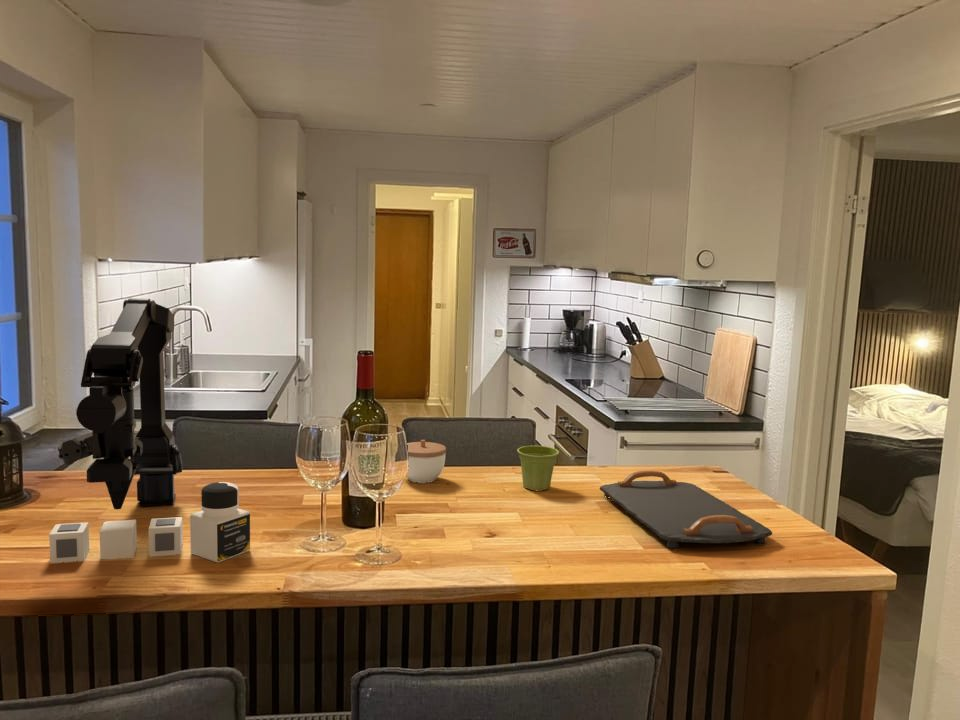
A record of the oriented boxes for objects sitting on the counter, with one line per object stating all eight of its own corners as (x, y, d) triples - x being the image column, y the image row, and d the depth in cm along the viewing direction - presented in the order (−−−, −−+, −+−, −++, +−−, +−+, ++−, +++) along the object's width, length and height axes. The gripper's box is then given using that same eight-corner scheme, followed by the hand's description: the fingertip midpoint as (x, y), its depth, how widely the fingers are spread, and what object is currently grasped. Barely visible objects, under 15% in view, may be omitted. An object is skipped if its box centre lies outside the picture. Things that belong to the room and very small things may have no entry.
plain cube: (136, 547, 139) (136, 519, 138) (133, 558, 134) (132, 529, 134) (105, 549, 138) (104, 521, 137) (100, 560, 133) (99, 531, 132)
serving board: (783, 552, 148) (786, 520, 148) (669, 558, 143) (671, 525, 142) (684, 490, 186) (686, 464, 185) (591, 494, 180) (592, 467, 180)
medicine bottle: (217, 563, 133) (217, 493, 131) (189, 554, 137) (188, 486, 135) (251, 551, 139) (250, 484, 137) (223, 542, 143) (222, 476, 141)
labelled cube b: (89, 550, 137) (88, 521, 136) (83, 561, 132) (82, 531, 131) (57, 552, 135) (55, 523, 135) (50, 564, 130) (48, 533, 130)
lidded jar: (403, 472, 192) (404, 433, 190) (448, 474, 191) (449, 436, 189) (394, 484, 181) (395, 444, 180) (441, 487, 180) (442, 447, 179)
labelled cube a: (182, 544, 141) (182, 515, 140) (180, 555, 136) (180, 525, 135) (152, 546, 140) (151, 517, 139) (149, 557, 135) (148, 527, 134)
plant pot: (558, 494, 178) (560, 456, 177) (516, 492, 178) (518, 454, 177) (555, 482, 187) (557, 446, 186) (515, 480, 187) (516, 444, 186)
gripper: (73, 408, 139) (76, 494, 141) (48, 431, 122) (52, 530, 124) (142, 406, 142) (143, 491, 144) (128, 429, 125) (130, 526, 127)
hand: (117, 508), depth 135 cm, fingers closed
